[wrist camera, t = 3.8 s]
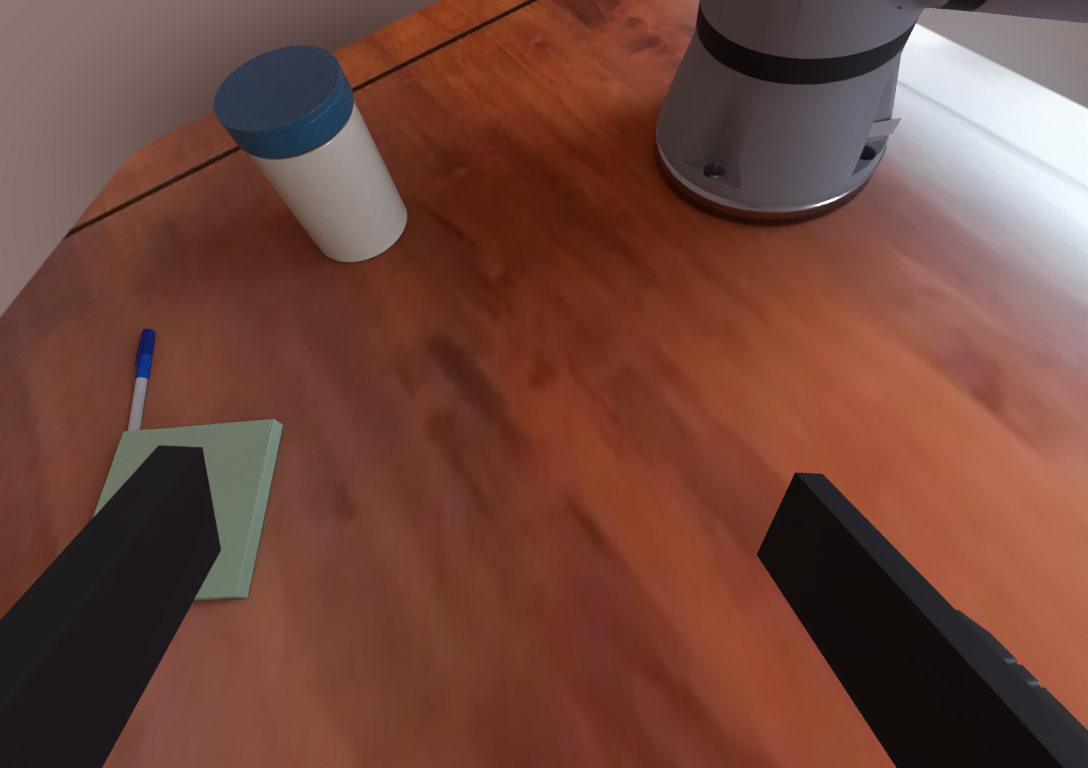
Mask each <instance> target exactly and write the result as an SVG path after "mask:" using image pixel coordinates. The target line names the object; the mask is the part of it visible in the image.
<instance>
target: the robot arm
mask: <svg viewBox="0 0 1088 768" xmlns="http://www.w3.org/2000/svg"><path fill="white" fill-rule="evenodd" d="M925 8H936V9H950V10H962V11H971V12H981V13H991V14H1001V15H1011V16H1020V17H1030V18H1040V19H1051V20H1060V21H1070V22H1079V23H1088V0H700V2H699V9H698V16H697V22H696V28H695V33H694V35H693V38H692V40H691V42H690V44H689V46H688V49H687V51H686V53H685V55H684V58H683V60H682V62H681V64H680V66H679V69H678V71H677V73H676V75H675V77H674V80H673V82H672V84H671V86H670V89H669V91H668V93H667V95H666V97H665V100H664V102H663V104H662V107H661V110H660V112H659V115H658V119H657V125H656V136H655V158H656V162H657V165H658V168H659V170H660V172H661V174H662V176H663V177H664V179H665V180H666V182H667V183H668V184H669V186H670V187H671V188H672V189H673V190H674V191H675V192H676V193H677V194H678V195H680V196H681V197H682V198H683V199H685V200H686V201H688V202H689V203H690V204H692V205H694V206H696V207H697V208H699V209H701V210H703V211H705V212H708V213H710V214H713V215H715V216H718V217H721V218H725V219H728V220H732V221H737V222H742V223H749V224H760V225H779V224H790V223H797V222H802V221H807V220H811V219H814V218H817V217H821V216H823V215H826V214H828V213H831V212H833V211H835V210H837V209H839V208H840V207H842V206H844V205H845V204H847V203H848V202H850V201H851V200H852V199H853V198H855V197H856V196H857V195H858V194H859V193H860V192H861V191H862V190H863V189H864V187H865V186H866V185H867V183H868V182H869V180H870V178H871V176H872V175H873V173H874V171H875V169H876V168H877V166H878V164H879V162H880V160H881V159H882V157H883V155H884V152H885V150H886V146H887V141H888V138H889V134H892V133H893V132H894V130H895V128H896V126H897V124H898V123H899V121H900V119H901V118H898V119H892V120H891V118H892V111H893V105H894V98H895V91H896V84H897V77H898V71H899V64H900V57H901V53H902V51H903V48H904V46H905V44H906V42H907V40H908V38H909V36H910V34H911V32H912V30H913V28H914V26H915V24H916V22H917V20H918V18H919V16H920V14H921V13H922V11H923V9H925ZM220 552H221V546H220V541H219V535H218V530H217V524H216V519H215V513H214V507H213V502H212V496H211V491H210V485H209V480H208V474H207V469H206V463H205V458H204V452H203V447H188V446H165V445H158V446H157V448H156V449H155V450H154V451H153V452H152V453H151V454H150V455H149V456H148V458H147V459H146V460H145V461H144V462H143V463H142V464H141V465H140V466H139V467H138V469H137V470H136V471H135V472H134V473H133V474H132V475H131V476H130V477H129V479H128V480H127V481H126V482H125V483H124V484H123V485H122V486H121V487H120V489H119V490H118V491H117V492H116V493H115V494H114V495H113V496H112V497H111V498H110V500H109V501H108V502H107V503H106V504H105V505H104V506H103V507H102V508H101V510H100V511H99V512H98V513H97V514H96V515H95V516H94V517H93V518H92V519H91V521H90V522H89V523H88V524H87V525H86V526H85V527H84V528H83V529H82V531H81V532H80V533H79V534H78V535H77V536H76V537H75V538H74V539H73V541H72V542H71V543H70V544H69V545H68V546H67V547H66V548H65V549H64V550H63V552H62V553H61V554H60V555H59V556H58V557H57V558H56V559H55V560H54V562H53V563H52V564H51V565H50V566H49V567H48V568H47V569H46V570H45V572H44V573H43V574H42V575H41V576H40V577H39V578H38V579H37V580H36V581H35V583H34V584H33V585H32V586H31V587H30V588H29V589H28V590H27V591H26V593H25V594H24V595H23V596H22V597H21V598H20V599H19V600H18V601H17V602H16V604H15V605H14V606H13V607H12V608H11V609H10V610H9V611H8V612H7V614H6V615H5V616H4V617H3V618H2V619H1V620H0V768H102V767H103V765H104V763H105V761H106V760H107V758H108V756H109V754H110V752H111V750H112V749H113V747H114V745H115V743H116V741H117V739H118V738H119V736H120V734H121V732H122V730H123V728H124V727H125V725H126V723H127V721H128V719H129V718H130V716H131V714H132V712H133V710H134V708H135V707H136V705H137V703H138V701H139V699H140V697H141V696H142V694H143V692H144V690H145V688H146V687H147V685H148V683H149V681H150V679H151V677H152V676H153V674H154V672H155V670H156V668H157V666H158V665H159V663H160V661H161V659H162V657H163V656H164V654H165V652H166V650H167V648H168V646H169V645H170V643H171V641H172V639H173V637H174V635H175V634H176V632H177V630H178V628H179V626H180V624H181V623H182V621H183V619H184V617H185V615H186V614H187V612H188V610H189V608H190V606H191V604H192V603H193V601H194V599H195V597H196V595H197V593H198V592H199V590H200V588H201V586H202V584H203V583H204V581H205V579H206V577H207V575H208V573H209V572H210V570H211V568H212V566H213V564H214V562H215V561H216V559H217V557H218V555H219V553H220ZM757 556H758V557H759V559H760V560H761V562H762V563H763V565H764V566H765V568H766V569H767V571H768V572H769V574H770V575H771V577H772V579H773V580H774V582H775V583H776V585H777V586H778V588H779V589H780V591H781V592H782V594H783V595H784V597H785V598H786V600H787V601H788V603H789V604H790V606H791V608H792V609H793V611H794V612H795V614H796V615H797V617H798V618H799V620H800V621H801V623H802V624H803V626H804V627H805V629H806V630H807V632H808V633H809V635H810V637H811V638H812V640H813V641H814V643H815V644H816V646H817V647H818V649H819V650H820V652H821V653H822V655H823V656H824V658H825V659H826V661H827V662H828V664H829V665H830V667H831V669H832V670H833V672H834V673H835V675H836V676H837V678H838V679H839V681H840V682H841V684H842V685H843V687H844V688H845V690H846V691H847V693H848V694H849V696H850V698H851V699H852V701H853V702H854V704H855V705H856V707H857V708H858V710H859V711H860V713H861V714H862V716H863V717H864V719H865V720H866V722H867V723H868V725H869V727H870V728H871V730H872V731H873V733H874V734H875V736H876V737H877V739H878V740H879V742H880V743H881V745H882V746H883V748H884V749H885V751H886V752H887V754H888V756H889V757H890V759H891V760H892V762H893V763H894V765H895V766H896V768H1088V730H1087V729H1086V728H1085V727H1084V726H1083V725H1082V724H1081V723H1080V722H1079V721H1078V720H1077V719H1076V718H1075V717H1074V716H1073V715H1072V714H1071V713H1070V712H1069V711H1068V710H1067V709H1066V708H1065V707H1064V706H1063V705H1062V704H1061V703H1060V702H1059V701H1058V700H1057V699H1056V698H1055V697H1054V696H1053V695H1052V694H1051V693H1050V692H1049V691H1048V690H1047V689H1046V688H1042V687H1040V685H1039V681H1038V680H1037V679H1036V678H1035V677H1034V676H1033V675H1032V674H1031V673H1030V672H1029V671H1028V670H1027V669H1026V668H1025V667H1024V666H1023V665H1019V664H1017V662H1016V660H1017V659H1016V658H1015V657H1014V656H1013V655H1012V654H1011V653H1010V652H1009V651H1008V650H1007V649H1006V648H1005V647H1004V646H1003V645H1002V644H1001V643H1000V642H999V641H998V640H997V639H996V638H995V637H994V636H993V635H992V634H991V633H990V632H988V631H987V630H985V629H984V628H983V627H981V626H980V625H979V624H977V623H976V622H974V621H973V620H972V619H970V618H969V617H968V616H966V615H965V614H963V613H962V612H961V611H959V610H955V609H954V608H953V607H952V606H951V605H950V604H949V603H948V602H947V601H946V600H945V599H944V598H943V597H942V596H941V594H940V593H939V592H938V591H937V590H936V589H935V588H934V587H933V586H932V585H931V584H930V583H929V582H928V581H927V580H926V579H925V578H924V577H923V576H922V575H921V574H920V573H919V572H918V571H917V570H916V569H915V568H914V567H913V566H912V565H911V564H910V563H909V562H908V561H907V560H906V559H905V558H904V557H903V556H902V555H901V554H900V553H899V552H898V551H897V550H896V549H895V548H894V546H893V545H892V544H891V543H890V542H889V541H888V540H887V539H886V538H885V537H884V536H883V535H882V534H881V533H880V532H879V531H878V530H877V529H876V528H875V527H874V526H873V525H872V524H871V523H870V522H869V521H868V520H867V519H866V518H865V517H864V516H863V515H862V514H861V513H860V512H859V511H858V510H857V509H856V508H855V507H854V506H853V505H852V504H851V503H850V502H849V501H848V499H847V498H846V497H845V496H844V495H843V494H842V493H841V492H840V491H839V490H838V489H837V488H836V487H835V486H834V485H833V484H832V483H831V482H830V481H829V480H828V479H827V478H826V477H825V476H824V475H823V474H814V473H795V474H794V476H793V478H792V480H791V483H790V485H789V487H788V489H787V491H786V493H785V495H784V497H783V500H782V502H781V504H780V506H779V508H778V510H777V512H776V515H775V517H774V519H773V521H772V523H771V525H770V527H769V529H768V532H767V534H766V536H765V538H764V540H763V542H762V544H761V547H760V549H759V551H758V553H757Z"/></svg>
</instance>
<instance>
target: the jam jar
mask: <svg viewBox="0 0 1088 768" xmlns="http://www.w3.org/2000/svg"><path fill="white" fill-rule="evenodd" d="M247 155H248V156H249V157H250V158H251V160H252V161H253V162H254V164H255V165H256V166H257V168H258V169H259V170H260V172H261V173H262V174H263V176H264V177H265V178H266V180H267V181H268V182H269V184H270V185H271V186H272V188H273V189H274V190H275V192H276V193H277V194H278V195H279V197H280V198H281V199H282V201H283V202H284V203H285V205H286V206H287V207H288V209H289V210H290V211H291V213H292V214H293V215H294V217H295V218H296V219H297V221H298V222H299V223H300V225H301V226H302V227H303V229H304V230H305V231H306V232H307V234H308V235H309V236H310V238H311V239H312V240H313V242H314V243H315V244H316V246H317V247H318V248H319V250H320V251H321V252H322V253H323V254H324V255H326V256H327V257H329V258H331V259H333V260H336V261H341V262H358V261H363V260H367V259H370V258H372V257H375V256H377V255H379V254H381V253H382V252H384V251H386V250H387V249H388V248H390V247H391V246H392V245H393V244H394V243H395V242H396V241H397V240H398V239H399V237H400V236H401V234H402V233H403V231H404V229H405V226H406V222H407V209H406V207H405V204H404V202H403V200H402V198H401V196H400V194H399V192H398V190H397V188H396V185H395V183H394V181H393V179H392V177H391V175H390V173H389V171H388V169H387V167H386V165H385V163H384V160H383V158H382V156H381V154H380V152H379V150H378V148H377V146H376V144H375V142H374V140H373V138H372V136H371V133H370V131H369V129H368V127H367V125H366V123H365V121H364V119H363V117H362V115H361V113H360V111H359V108H358V106H357V104H356V102H355V100H354V107H353V110H352V113H351V115H350V117H349V119H348V120H347V122H346V123H345V124H344V126H343V127H342V128H341V129H340V130H339V131H338V132H337V133H336V134H335V135H333V136H332V137H331V138H330V139H328V140H327V141H325V142H324V143H322V144H320V145H318V146H317V147H315V148H313V149H310V150H308V151H306V152H303V153H300V154H297V155H293V156H289V157H283V158H261V157H256V156H253V155H250V154H248V153H247Z"/></svg>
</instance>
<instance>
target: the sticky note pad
mask: <svg viewBox="0 0 1088 768" xmlns="http://www.w3.org/2000/svg"><path fill="white" fill-rule="evenodd" d="M282 428H283V424H281V423H280V422H278V421H277V420H275V419H268V420H256V421H244V422H232V423H220V424H208V425H196V426H184V427H172V428H160V429H148V430H136V431H124V432H123V434H122V436H121V439H120V442H119V445H118V448H117V451H116V453H115V456H114V459H113V462H112V465H111V468H110V470H109V473H108V476H107V479H106V482H105V485H104V487H103V490H102V493H101V496H100V499H99V502H98V504H97V507H96V510H95V513H94V516H95V515H96V514H97V513H98V512H99V511H100V510H101V508H102V507H103V506H104V505H105V504H106V503H107V502H108V501H109V500H110V498H111V497H112V496H113V495H114V494H115V493H116V492H117V491H118V490H119V489H120V487H121V486H122V485H123V484H124V483H125V482H126V481H127V480H128V479H129V477H130V476H131V475H132V474H133V473H134V472H135V471H136V470H137V469H138V467H139V466H140V465H141V464H142V463H143V462H144V461H145V460H146V459H147V458H148V456H149V455H150V454H151V453H152V452H153V451H154V450H155V449H156V448H157V446H158V445H165V446H188V447H203V452H204V458H205V463H206V469H207V474H208V480H209V485H210V491H211V496H212V502H213V507H214V513H215V519H216V524H217V530H218V535H219V541H220V546H221V552H220V553H219V555H218V557H217V559H216V561H215V562H214V564H213V566H212V568H211V570H210V572H209V573H208V575H207V577H206V579H205V581H204V583H203V584H202V586H201V588H200V590H199V592H198V593H197V595H196V597H195V599H194V601H197V600H217V599H237V598H247V597H248V594H249V589H250V584H251V579H252V574H253V569H254V564H255V560H256V555H257V550H258V545H259V540H260V535H261V530H262V525H263V521H264V516H265V511H266V506H267V501H268V496H269V491H270V486H271V482H272V477H273V472H274V467H275V462H276V457H277V452H278V448H279V443H280V438H281V433H282ZM94 516H93V517H94Z"/></svg>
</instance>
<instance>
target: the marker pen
mask: <svg viewBox="0 0 1088 768" xmlns="http://www.w3.org/2000/svg"><path fill="white" fill-rule="evenodd" d="M154 341H155V332H154V331H153V330H151V329H147V330H146V329H143V331H142V334H141V337H140V341H139V346H138V351H137V357H136V362H135V365H137V371H136V376H135V378H136V383H135V389H134V395H133V401H132V407H131V413H130V419H129V425H128V431H136V430H140V426H141V420H142V413H143V407H144V400H145V394H146V387H147V381H148V378H149V373H150V368H151V367H150V366H151V361H152V355H153V348H154Z"/></svg>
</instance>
